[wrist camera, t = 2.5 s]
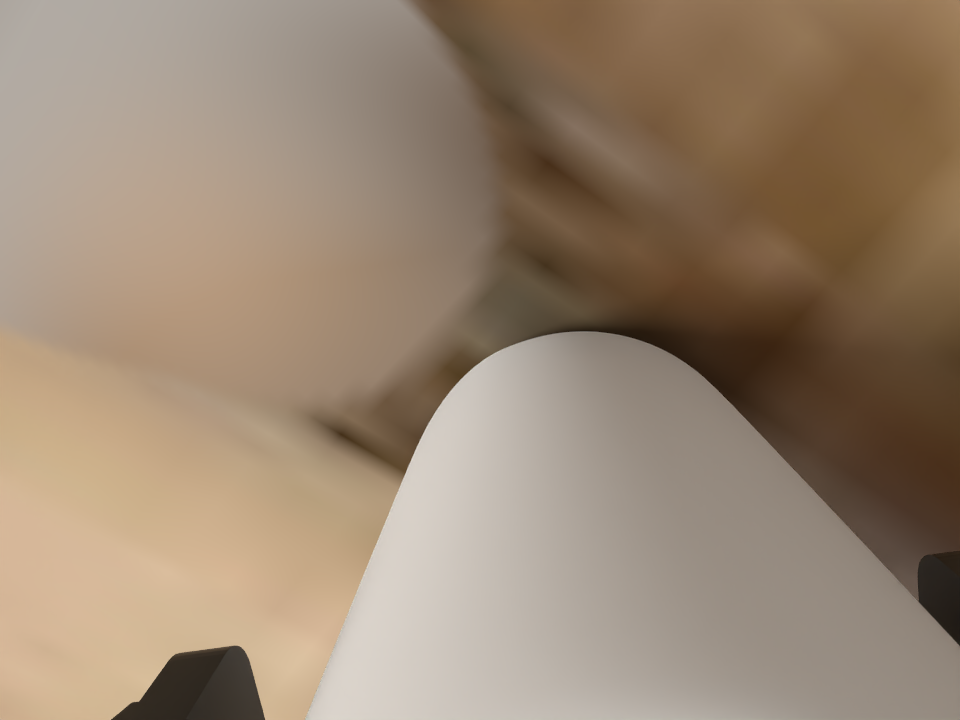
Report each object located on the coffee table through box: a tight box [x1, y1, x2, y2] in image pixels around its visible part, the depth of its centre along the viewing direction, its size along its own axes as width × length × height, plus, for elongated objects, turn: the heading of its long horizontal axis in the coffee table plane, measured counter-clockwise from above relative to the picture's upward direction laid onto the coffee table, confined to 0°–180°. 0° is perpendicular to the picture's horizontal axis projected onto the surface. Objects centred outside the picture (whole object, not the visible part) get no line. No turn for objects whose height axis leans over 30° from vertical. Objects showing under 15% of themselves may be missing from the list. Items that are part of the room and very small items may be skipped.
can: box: [305, 331, 960, 720], centre depth 9 cm, size 6×6×12 cm
